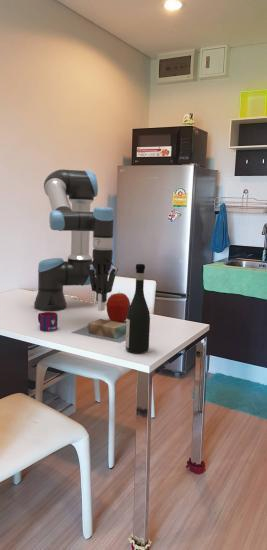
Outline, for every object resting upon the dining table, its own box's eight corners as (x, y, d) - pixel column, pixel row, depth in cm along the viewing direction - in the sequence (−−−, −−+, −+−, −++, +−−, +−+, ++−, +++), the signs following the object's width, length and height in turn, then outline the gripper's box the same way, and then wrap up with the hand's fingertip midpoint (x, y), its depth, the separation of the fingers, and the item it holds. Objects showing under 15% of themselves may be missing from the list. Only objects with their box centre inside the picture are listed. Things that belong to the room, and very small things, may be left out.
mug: (45, 334, 163) (45, 316, 162) (32, 328, 170) (32, 311, 169) (60, 331, 167) (60, 314, 166) (47, 325, 175) (48, 309, 173)
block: (88, 323, 163) (115, 328, 158) (100, 318, 170) (126, 323, 165) (88, 333, 164) (115, 338, 158) (99, 328, 171) (125, 333, 165)
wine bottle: (121, 351, 146) (124, 264, 141) (130, 345, 153) (133, 262, 149) (144, 355, 143) (148, 266, 139) (151, 348, 151) (155, 263, 146)
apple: (119, 318, 190) (120, 287, 188) (134, 323, 183) (135, 291, 181) (100, 321, 183) (101, 289, 181) (116, 327, 176) (117, 293, 174)
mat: (70, 333, 164) (70, 332, 164) (91, 325, 176) (91, 324, 176) (120, 344, 154) (120, 342, 154) (138, 335, 166) (138, 333, 166)
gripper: (82, 248, 161) (81, 309, 164) (112, 250, 155) (110, 314, 158) (93, 246, 167) (92, 305, 171) (122, 249, 161) (120, 310, 165)
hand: (101, 310), depth 165 cm, fingers closed
